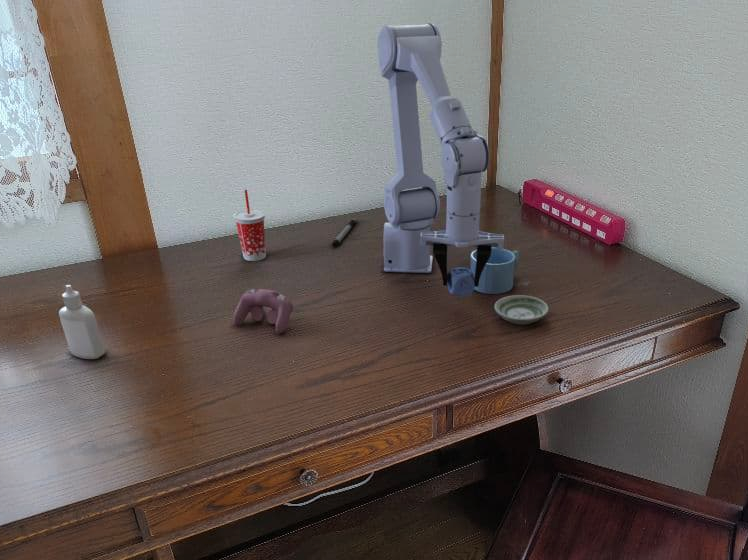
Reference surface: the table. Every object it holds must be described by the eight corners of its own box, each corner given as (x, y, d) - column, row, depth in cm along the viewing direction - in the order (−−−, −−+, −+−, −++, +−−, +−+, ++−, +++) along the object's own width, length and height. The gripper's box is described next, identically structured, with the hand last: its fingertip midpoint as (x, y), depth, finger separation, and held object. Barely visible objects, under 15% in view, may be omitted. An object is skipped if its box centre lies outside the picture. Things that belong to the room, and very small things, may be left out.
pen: (331, 247, 157) (331, 241, 156) (353, 220, 170) (353, 215, 170) (337, 248, 157) (337, 242, 156) (359, 221, 170) (358, 215, 170)
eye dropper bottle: (80, 365, 116) (59, 296, 109) (68, 351, 119) (47, 283, 112) (108, 356, 118) (89, 288, 111) (95, 342, 122) (76, 276, 115)
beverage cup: (276, 255, 153) (268, 188, 145) (254, 264, 149) (245, 197, 141) (254, 248, 156) (245, 183, 148) (233, 258, 151) (223, 191, 144)
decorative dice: (474, 295, 132) (475, 275, 130) (453, 297, 131) (453, 277, 129) (467, 286, 135) (468, 266, 133) (446, 288, 134) (447, 268, 132)
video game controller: (293, 334, 128) (298, 294, 127) (280, 334, 124) (285, 293, 123) (244, 324, 131) (248, 285, 130) (229, 324, 127) (234, 284, 125)
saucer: (517, 301, 137) (518, 289, 136) (558, 319, 132) (559, 307, 130) (482, 317, 132) (483, 305, 130) (523, 336, 126) (524, 324, 125)
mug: (492, 298, 138) (493, 268, 135) (460, 283, 143) (461, 254, 140) (531, 281, 145) (534, 252, 141) (500, 268, 150) (502, 240, 146)
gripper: (419, 217, 122) (419, 292, 129) (506, 220, 121) (501, 294, 129) (421, 203, 127) (421, 275, 135) (505, 205, 127) (500, 277, 135)
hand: (460, 283), depth 132 cm, fingers closed on decorative dice, 5 cm apart
